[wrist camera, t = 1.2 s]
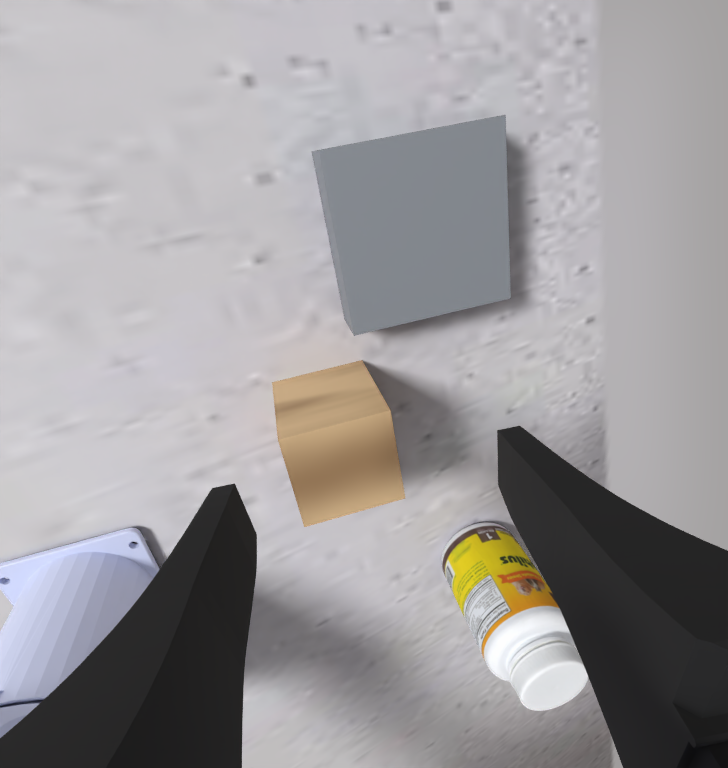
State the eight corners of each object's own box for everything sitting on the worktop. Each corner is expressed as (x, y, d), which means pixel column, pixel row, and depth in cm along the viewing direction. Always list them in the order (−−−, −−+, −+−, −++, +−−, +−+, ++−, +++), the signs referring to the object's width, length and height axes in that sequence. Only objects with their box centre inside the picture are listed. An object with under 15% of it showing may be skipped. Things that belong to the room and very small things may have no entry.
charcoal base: (484, 284, 26) (510, 298, 23) (343, 317, 25) (354, 335, 22) (475, 120, 22) (505, 114, 20) (310, 151, 22) (318, 150, 19)
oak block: (376, 435, 28) (405, 498, 23) (294, 457, 28) (304, 527, 22) (361, 359, 26) (390, 410, 21) (272, 382, 25) (278, 439, 20)
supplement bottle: (525, 536, 35) (622, 669, 26) (473, 587, 36) (548, 731, 27) (476, 505, 32) (564, 639, 23) (422, 560, 33) (486, 708, 24)
